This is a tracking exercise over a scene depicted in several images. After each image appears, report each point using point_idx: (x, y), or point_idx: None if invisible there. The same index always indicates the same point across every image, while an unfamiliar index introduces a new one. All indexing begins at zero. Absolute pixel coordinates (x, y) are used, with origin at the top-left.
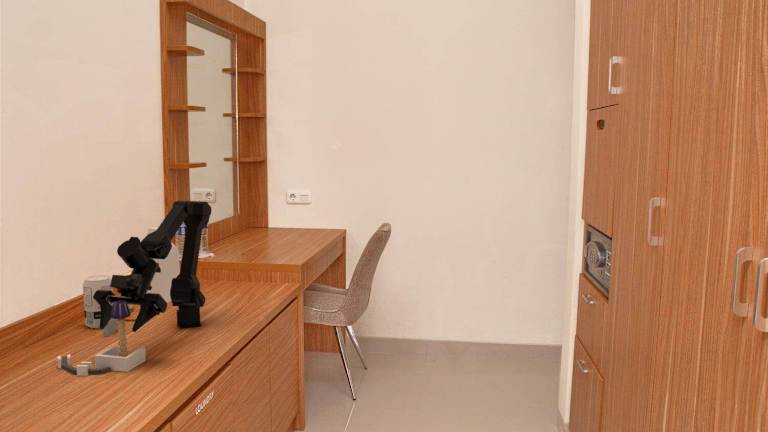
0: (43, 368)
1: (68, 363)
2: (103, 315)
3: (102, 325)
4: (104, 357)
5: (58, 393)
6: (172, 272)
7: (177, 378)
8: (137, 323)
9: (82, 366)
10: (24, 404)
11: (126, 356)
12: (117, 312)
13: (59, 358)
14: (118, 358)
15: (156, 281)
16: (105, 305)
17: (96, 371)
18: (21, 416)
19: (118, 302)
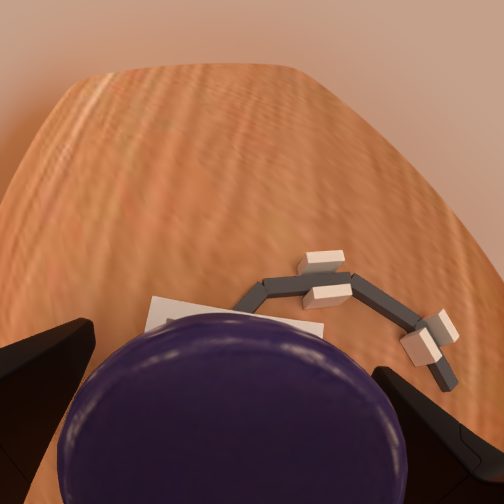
0: (456, 312)
1: (411, 333)
2: (434, 424)
3: (380, 382)
4: (270, 318)
5: (298, 155)
6: None
7: (6, 262)
8: (36, 337)
9: (321, 252)
10: (331, 116)
11: (162, 322)
12: (210, 313)
13: (442, 314)
14: (194, 305)
15: None
16: (499, 481)
17: (271, 278)
18: (296, 82)
19: (207, 363)
